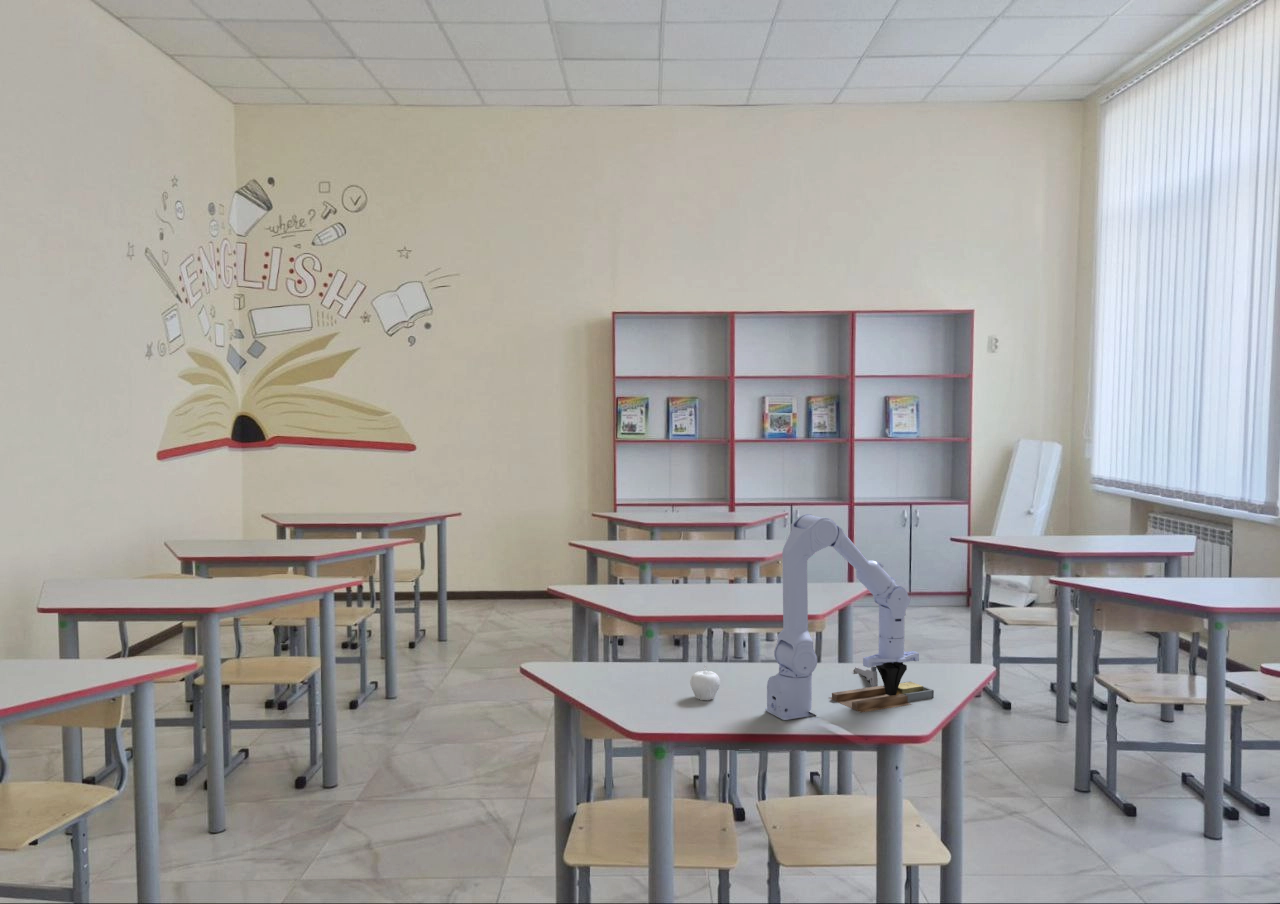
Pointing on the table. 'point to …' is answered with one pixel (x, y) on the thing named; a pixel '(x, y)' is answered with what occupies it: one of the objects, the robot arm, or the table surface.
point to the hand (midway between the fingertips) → (891, 694)
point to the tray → (920, 694)
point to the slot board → (869, 699)
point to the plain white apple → (705, 684)
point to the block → (909, 688)
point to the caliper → (869, 674)
